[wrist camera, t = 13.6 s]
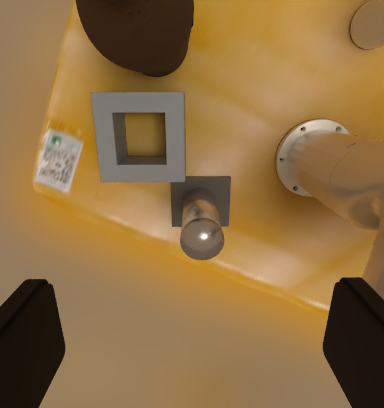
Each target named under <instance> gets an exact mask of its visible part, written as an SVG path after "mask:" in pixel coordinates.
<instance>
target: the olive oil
mask: <svg viewBox="0 0 384 408" xmlns="http://www.w3.org/2000/svg"><path fill="white" fill-rule="evenodd" d="M76 4H77V10H78V14H79V17H80V20H81V23H82V26H83V28H84V30H85V32H86V34H87V36H88V38H89V39H90V41H91V42H92V43H93V45H94V46H95V47H96V49H97V50H98V51H99V52H100V53H101V54H102V55H103V56H105V57H106V58H107V59H108V60H110V61H111V62H113V63H115V64H117V65H119V66H121V67H123V68H126V69H130V70H134V71H137V72H141V73H143V74H145V75H148V76H153V77H161V76H165V75H168V74H170V73H172V72H174V71H175V70H176V69H177V68H178V67H179V66H180V65H181V63H182V62H183V60H184V58H185V56H186V53H187V50H188V42H189V37H190V32H191V27H192V26H193V15H194V1H193V0H76Z"/></svg>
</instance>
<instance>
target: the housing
mask: <svg viewBox="0 0 384 408" xmlns="http://www.w3.org/2000/svg"><path fill="white" fill-rule="evenodd" d="M91 100H92V108H93V117H94V125H95V134H96V143H97V151H98V160H99V168H100V177H101V182H185V174H186V149H185V93H184V92H91ZM124 112H165V125H166V155H167V156H128V155H127V143H126V130H125V118H124Z"/></svg>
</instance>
